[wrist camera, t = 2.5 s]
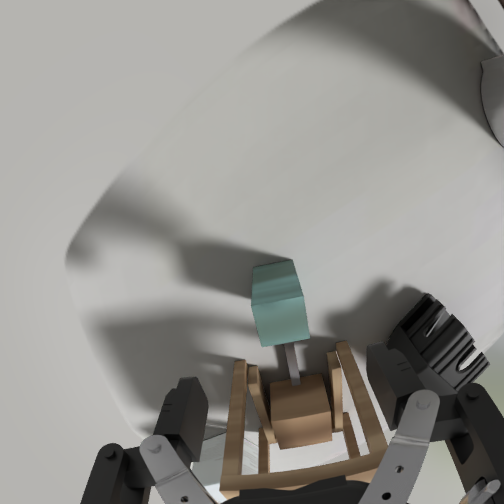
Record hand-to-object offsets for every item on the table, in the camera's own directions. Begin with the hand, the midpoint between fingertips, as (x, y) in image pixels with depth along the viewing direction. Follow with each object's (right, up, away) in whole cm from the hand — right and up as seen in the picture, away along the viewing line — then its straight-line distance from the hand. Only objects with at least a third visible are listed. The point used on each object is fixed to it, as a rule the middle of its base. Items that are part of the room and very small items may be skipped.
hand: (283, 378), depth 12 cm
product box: (-4, -18, +18) cm, 26 cm away
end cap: (+16, -3, +12) cm, 20 cm away
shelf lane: (+3, -9, +14) cm, 17 cm away
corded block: (+2, -3, +12) cm, 13 cm away
